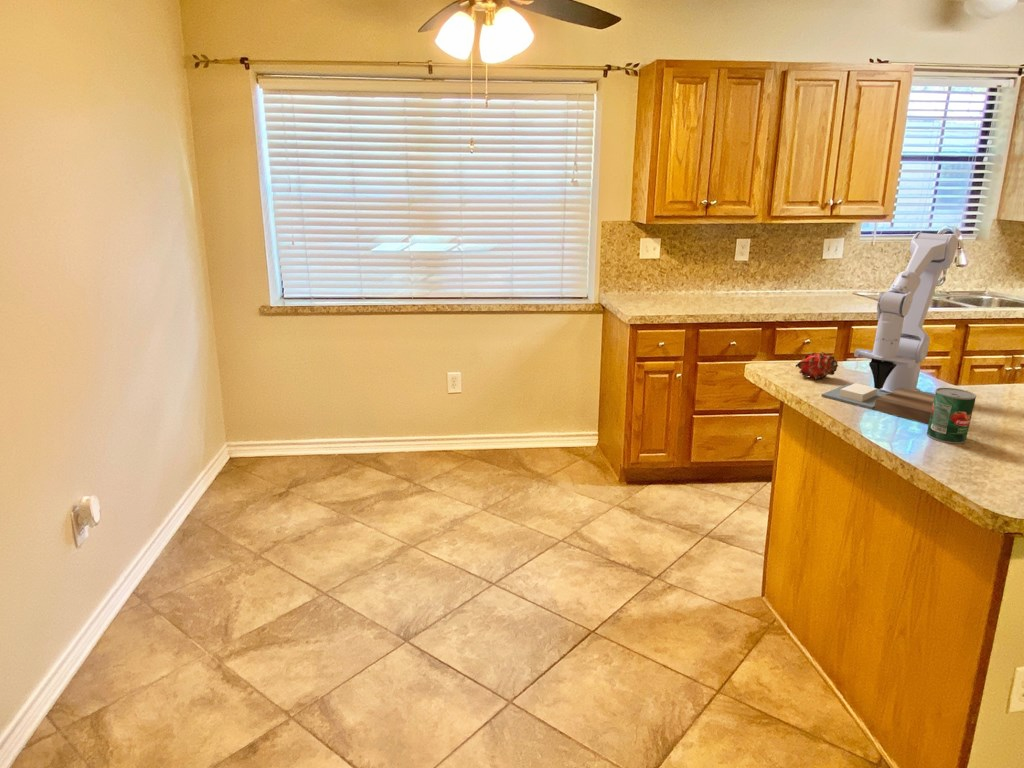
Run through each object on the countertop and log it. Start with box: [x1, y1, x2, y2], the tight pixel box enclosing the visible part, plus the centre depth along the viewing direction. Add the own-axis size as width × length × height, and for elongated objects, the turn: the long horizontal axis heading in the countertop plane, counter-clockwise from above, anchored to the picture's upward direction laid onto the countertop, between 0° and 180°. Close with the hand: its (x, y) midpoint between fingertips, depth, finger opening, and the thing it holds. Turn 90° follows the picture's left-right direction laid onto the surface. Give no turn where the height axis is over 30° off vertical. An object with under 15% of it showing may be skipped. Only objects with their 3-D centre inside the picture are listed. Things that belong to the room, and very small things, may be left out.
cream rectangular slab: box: [839, 382, 879, 402], centre depth 183 cm, size 9×6×2 cm, turn 130°
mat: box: [821, 383, 889, 410], centre depth 184 cm, size 16×14×1 cm
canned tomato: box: [926, 387, 977, 445], centre depth 155 cm, size 8×8×11 cm
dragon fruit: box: [795, 351, 839, 380], centre depth 201 cm, size 8×8×12 cm
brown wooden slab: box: [873, 388, 935, 425], centre depth 174 cm, size 16×14×3 cm
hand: (878, 387), depth 179 cm, fingers closed
